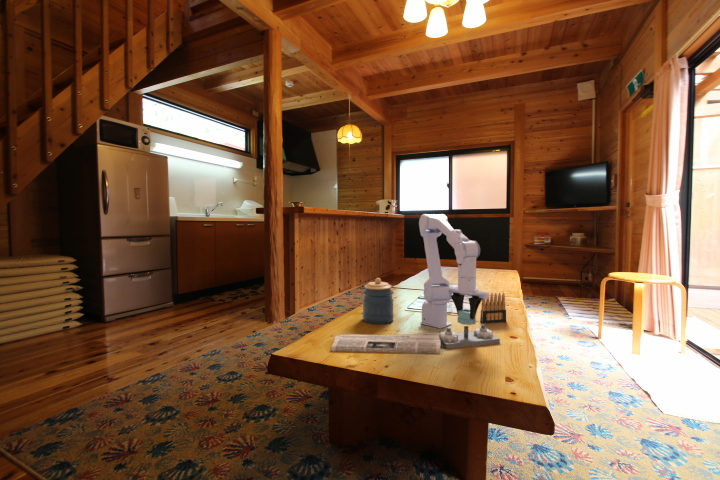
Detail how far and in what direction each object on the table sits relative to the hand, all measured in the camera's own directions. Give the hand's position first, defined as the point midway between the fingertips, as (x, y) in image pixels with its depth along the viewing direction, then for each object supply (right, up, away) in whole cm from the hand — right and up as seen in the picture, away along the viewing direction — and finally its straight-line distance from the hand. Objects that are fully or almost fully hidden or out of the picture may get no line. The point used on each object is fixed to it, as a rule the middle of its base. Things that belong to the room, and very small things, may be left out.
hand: (466, 316), depth 111 cm
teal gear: (0, -2, 0) cm, 2 cm away
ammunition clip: (+18, -8, +22) cm, 29 cm away
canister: (-29, -8, +26) cm, 39 cm away
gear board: (0, -8, 0) cm, 8 cm away
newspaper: (-27, -9, -3) cm, 29 cm away
